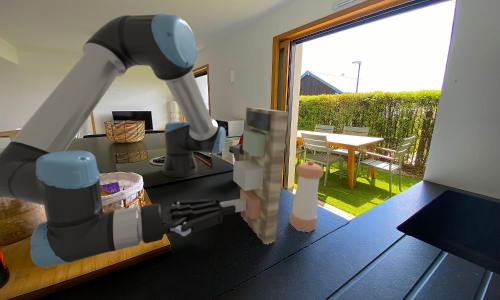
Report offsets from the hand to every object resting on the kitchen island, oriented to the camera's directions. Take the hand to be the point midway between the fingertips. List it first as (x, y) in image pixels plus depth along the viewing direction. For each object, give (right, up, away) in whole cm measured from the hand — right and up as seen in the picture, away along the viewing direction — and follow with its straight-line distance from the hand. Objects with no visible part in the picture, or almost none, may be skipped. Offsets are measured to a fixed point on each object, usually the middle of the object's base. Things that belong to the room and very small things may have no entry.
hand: (244, 204), depth 52 cm
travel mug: (+1, -4, +17) cm, 17 cm away
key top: (+3, +13, -2) cm, 14 cm away
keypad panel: (+3, -7, +4) cm, 9 cm away
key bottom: (+2, -2, +2) cm, 4 cm away
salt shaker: (+16, -8, +6) cm, 19 cm away
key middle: (+1, +5, -1) cm, 6 cm away
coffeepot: (0, 0, +36) cm, 36 cm away
